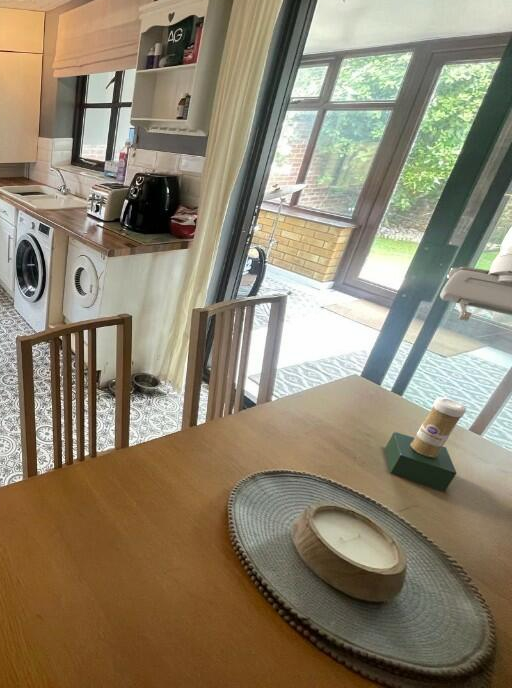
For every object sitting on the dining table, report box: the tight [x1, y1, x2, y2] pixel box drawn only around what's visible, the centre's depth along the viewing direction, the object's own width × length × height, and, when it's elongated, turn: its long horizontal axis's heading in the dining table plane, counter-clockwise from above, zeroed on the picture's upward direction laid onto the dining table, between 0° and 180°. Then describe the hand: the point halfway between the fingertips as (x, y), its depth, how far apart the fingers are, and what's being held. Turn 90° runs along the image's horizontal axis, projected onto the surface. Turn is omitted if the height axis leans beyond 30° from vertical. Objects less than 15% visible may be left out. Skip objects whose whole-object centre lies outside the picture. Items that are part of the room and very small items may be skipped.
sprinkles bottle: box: [411, 396, 467, 457], centre depth 89 cm, size 5×5×14 cm
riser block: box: [384, 431, 457, 492], centre depth 93 cm, size 9×9×6 cm
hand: (493, 327), depth 91 cm, fingers open, 8 cm apart
